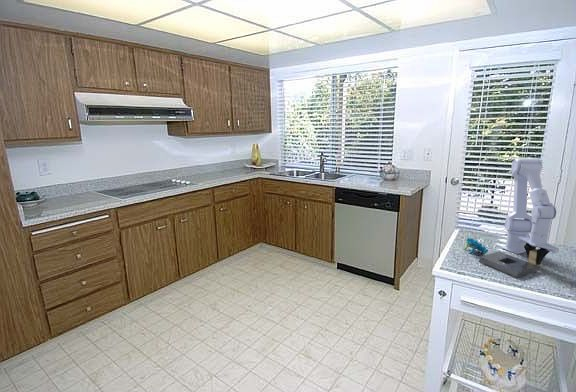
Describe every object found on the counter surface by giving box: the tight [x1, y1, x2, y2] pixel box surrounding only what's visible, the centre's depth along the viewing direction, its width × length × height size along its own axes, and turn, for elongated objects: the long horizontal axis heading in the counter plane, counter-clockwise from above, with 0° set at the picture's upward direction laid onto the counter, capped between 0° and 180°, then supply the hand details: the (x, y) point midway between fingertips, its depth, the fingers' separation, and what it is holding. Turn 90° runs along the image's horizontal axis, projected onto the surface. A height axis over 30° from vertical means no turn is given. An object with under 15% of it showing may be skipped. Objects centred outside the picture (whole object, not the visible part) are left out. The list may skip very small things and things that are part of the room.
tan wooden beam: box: [527, 248, 541, 268], centre depth 133 cm, size 4×3×7 cm, turn 113°
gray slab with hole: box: [478, 251, 539, 279], centre depth 133 cm, size 13×16×2 cm
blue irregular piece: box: [463, 237, 489, 255], centre depth 147 cm, size 11×6×10 cm
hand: (534, 262), depth 133 cm, fingers closed on tan wooden beam, 3 cm apart
